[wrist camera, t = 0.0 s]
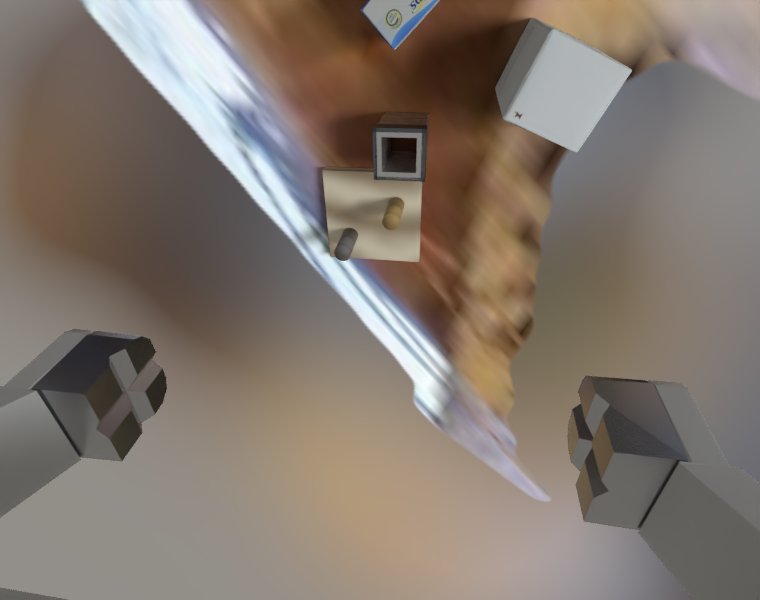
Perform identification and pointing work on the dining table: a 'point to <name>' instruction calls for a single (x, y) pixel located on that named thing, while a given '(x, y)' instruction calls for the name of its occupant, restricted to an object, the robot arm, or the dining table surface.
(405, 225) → the pinboard
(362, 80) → the dining table surface
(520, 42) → the supplement box
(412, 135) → the sleeve
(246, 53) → the dining table surface
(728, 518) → the robot arm
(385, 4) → the medicine box
